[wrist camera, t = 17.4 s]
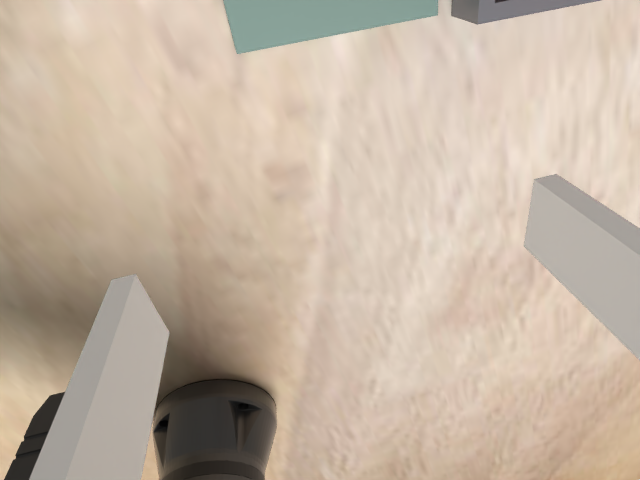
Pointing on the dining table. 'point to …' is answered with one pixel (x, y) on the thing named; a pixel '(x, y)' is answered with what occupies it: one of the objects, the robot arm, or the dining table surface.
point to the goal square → (314, 19)
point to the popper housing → (505, 8)
